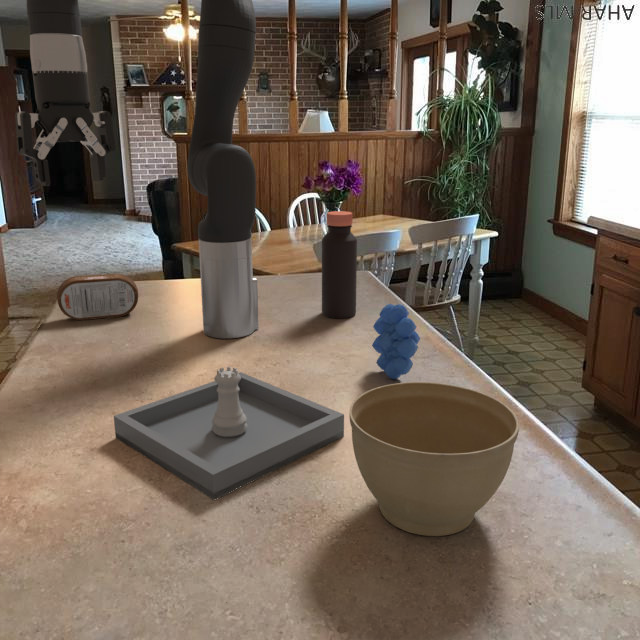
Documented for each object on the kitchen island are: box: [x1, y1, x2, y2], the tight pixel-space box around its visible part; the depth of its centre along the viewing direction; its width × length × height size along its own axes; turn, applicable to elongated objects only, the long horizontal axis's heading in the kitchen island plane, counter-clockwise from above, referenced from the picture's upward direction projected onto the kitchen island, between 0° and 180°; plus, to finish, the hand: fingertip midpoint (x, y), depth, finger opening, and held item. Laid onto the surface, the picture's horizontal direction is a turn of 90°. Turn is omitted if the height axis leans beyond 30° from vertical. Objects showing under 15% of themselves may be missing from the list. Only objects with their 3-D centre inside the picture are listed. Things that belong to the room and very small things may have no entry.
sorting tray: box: [113, 371, 345, 501], centre depth 84 cm, size 20×20×3 cm
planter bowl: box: [348, 381, 520, 537], centre depth 67 cm, size 16×16×11 cm
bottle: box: [321, 210, 358, 319], centre depth 131 cm, size 7×7×20 cm
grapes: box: [371, 303, 421, 380], centre depth 101 cm, size 12×7×12 cm, turn 19°
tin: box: [56, 273, 139, 321], centre depth 131 cm, size 15×3×8 cm, turn 108°
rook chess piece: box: [212, 366, 248, 438], centre depth 83 cm, size 4×4×8 cm
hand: (72, 183), depth 103 cm, fingers open, 8 cm apart
